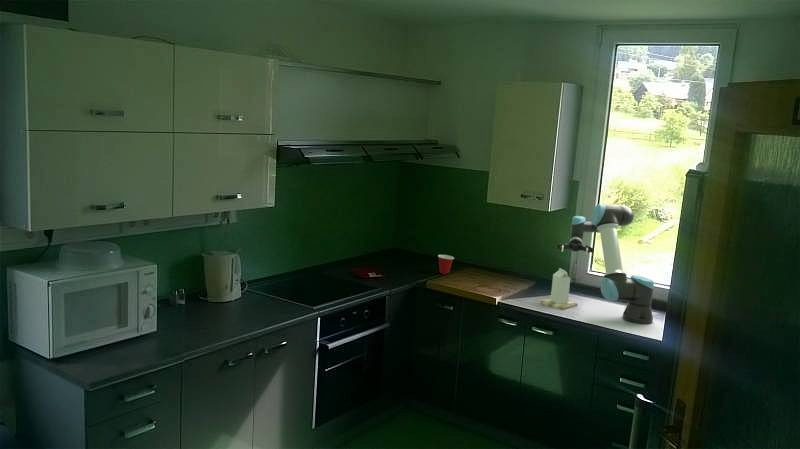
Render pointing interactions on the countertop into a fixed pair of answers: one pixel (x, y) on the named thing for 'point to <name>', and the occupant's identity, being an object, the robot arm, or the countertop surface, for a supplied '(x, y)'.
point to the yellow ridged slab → (559, 306)
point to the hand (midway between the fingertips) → (574, 250)
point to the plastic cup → (445, 263)
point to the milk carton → (560, 287)
